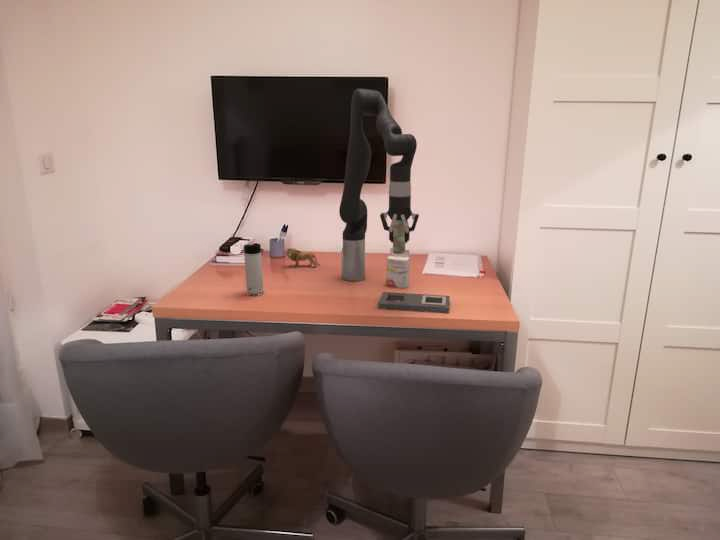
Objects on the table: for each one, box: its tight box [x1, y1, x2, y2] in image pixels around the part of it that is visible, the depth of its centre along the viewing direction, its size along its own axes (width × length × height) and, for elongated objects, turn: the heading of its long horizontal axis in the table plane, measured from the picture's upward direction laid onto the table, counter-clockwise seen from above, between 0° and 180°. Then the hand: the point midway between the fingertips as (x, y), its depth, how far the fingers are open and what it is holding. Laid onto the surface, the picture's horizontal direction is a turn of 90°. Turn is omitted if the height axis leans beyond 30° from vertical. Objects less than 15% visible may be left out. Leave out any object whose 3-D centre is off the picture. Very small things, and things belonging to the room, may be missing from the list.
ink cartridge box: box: [385, 247, 411, 289], centre depth 212 cm, size 9×5×15 cm, turn 71°
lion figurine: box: [286, 247, 321, 269], centre depth 237 cm, size 15×5×9 cm, turn 97°
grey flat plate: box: [377, 291, 451, 314], centre depth 194 cm, size 25×12×2 cm, turn 80°
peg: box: [392, 220, 406, 254], centre depth 187 cm, size 4×4×12 cm
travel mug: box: [243, 243, 264, 296], centre depth 202 cm, size 6×7×20 cm
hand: (399, 241), depth 188 cm, fingers closed on peg, 4 cm apart
